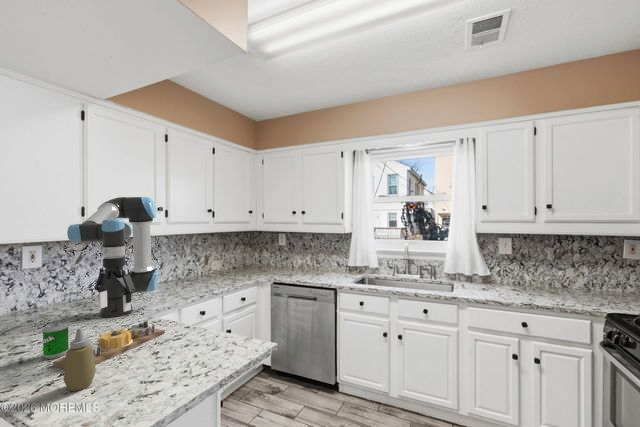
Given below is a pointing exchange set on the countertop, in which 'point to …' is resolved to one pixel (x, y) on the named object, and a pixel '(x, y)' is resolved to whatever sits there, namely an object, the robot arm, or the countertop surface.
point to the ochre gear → (115, 339)
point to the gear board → (139, 336)
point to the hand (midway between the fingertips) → (115, 309)
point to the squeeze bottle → (79, 363)
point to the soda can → (55, 340)
